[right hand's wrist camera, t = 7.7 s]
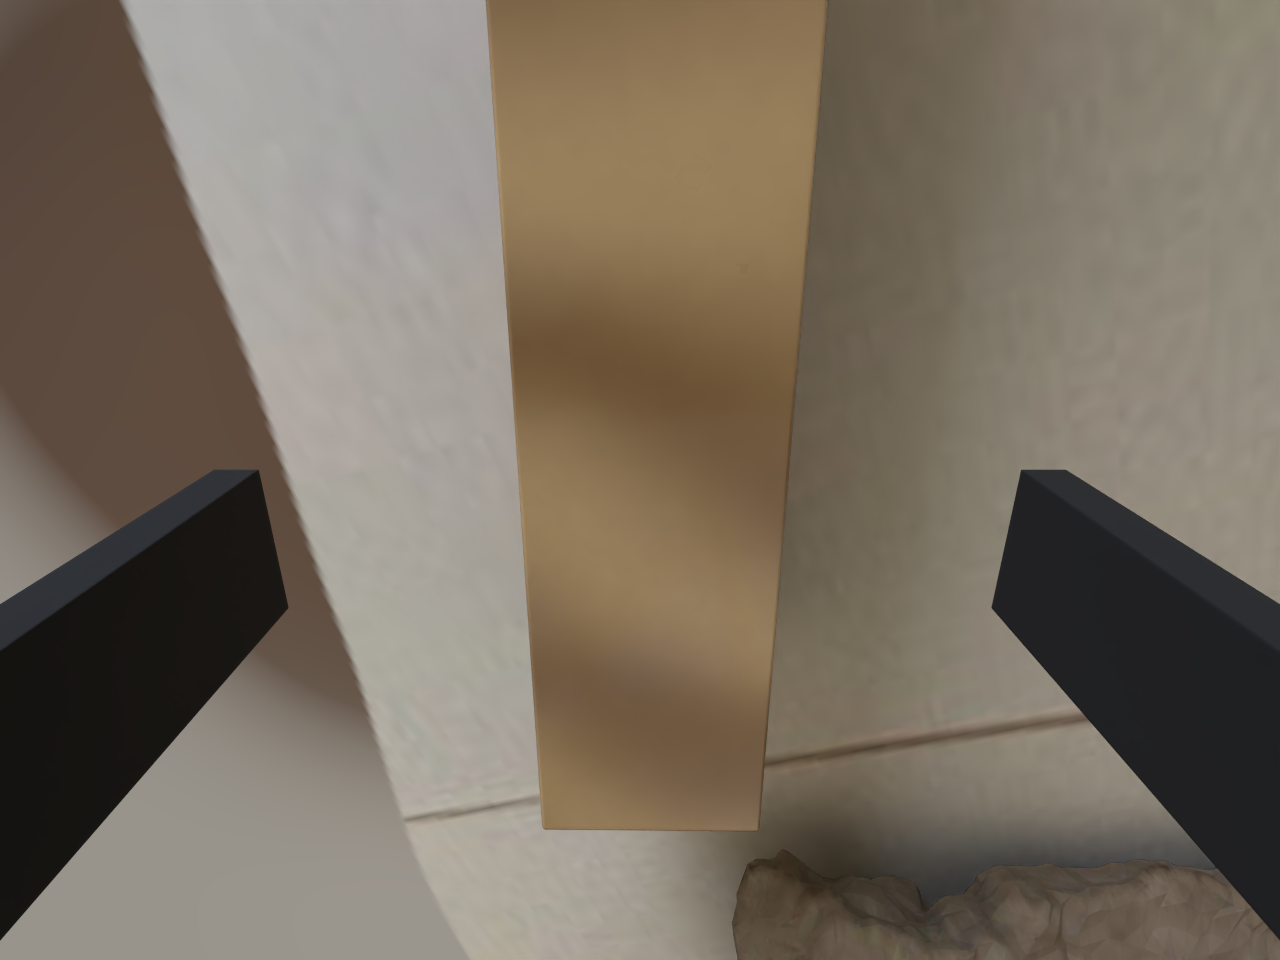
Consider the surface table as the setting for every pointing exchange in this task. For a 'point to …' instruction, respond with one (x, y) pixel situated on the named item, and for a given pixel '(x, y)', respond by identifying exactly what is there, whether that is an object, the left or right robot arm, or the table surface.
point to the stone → (999, 915)
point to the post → (654, 383)
